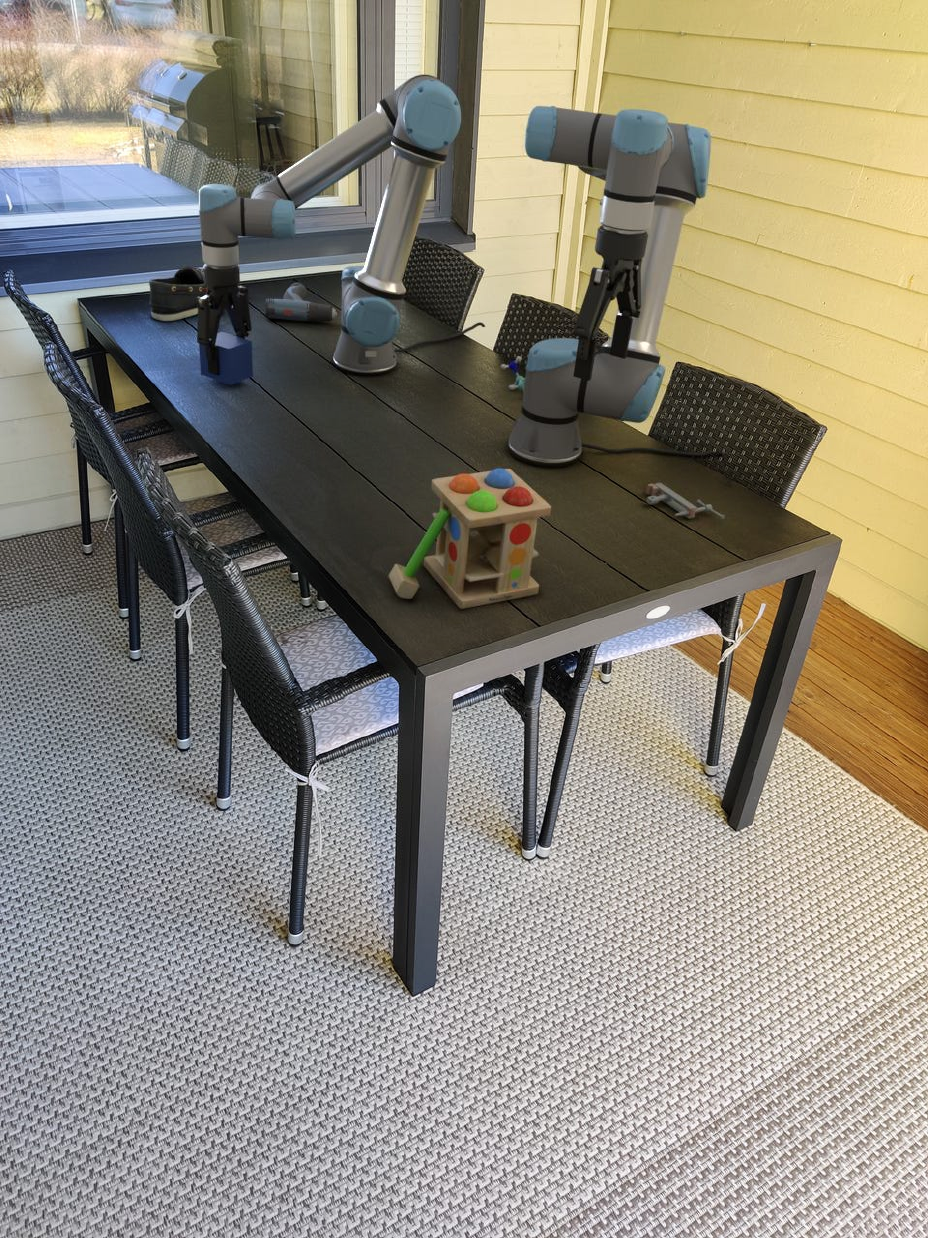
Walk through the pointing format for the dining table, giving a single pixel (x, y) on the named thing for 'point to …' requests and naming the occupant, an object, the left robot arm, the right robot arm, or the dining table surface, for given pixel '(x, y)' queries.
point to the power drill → (298, 307)
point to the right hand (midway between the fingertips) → (600, 367)
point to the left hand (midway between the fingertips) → (226, 368)
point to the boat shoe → (177, 294)
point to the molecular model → (519, 378)
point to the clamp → (657, 495)
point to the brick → (230, 359)
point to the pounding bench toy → (479, 539)
